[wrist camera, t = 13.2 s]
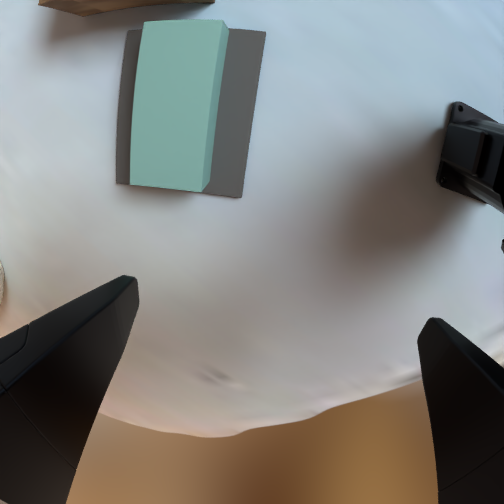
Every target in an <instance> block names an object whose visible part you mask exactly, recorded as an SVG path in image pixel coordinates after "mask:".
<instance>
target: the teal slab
mask: <svg viewBox="0 0 504 504" xmlns="http://www.w3.org/2000/svg"><path fill="white" fill-rule="evenodd" d="M228 36H229V29H228V27H227V26H226V24H225V23H224V21H223V20H201V19H191V20H162V21H149V22H144V26H143V32H142V37H141V44H140V50H139V57H138V64H137V72H136V81H135V91H134V101H133V114H132V129H131V152H130V185H140V186H150V187H160V188H169V189H177V190H186V191H194V192H202V191H203V189H204V188H205V187H206V185H207V184H208V183H209V181H210V173H211V163H212V154H213V145H214V136H215V127H216V119H217V111H218V103H219V96H220V88H221V81H222V74H223V67H224V61H225V54H226V48H227V42H228Z"/></svg>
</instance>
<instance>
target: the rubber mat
mask: <svg viewBox="0 0 504 504" xmlns="http://www.w3.org/2000/svg"><path fill="white" fill-rule="evenodd" d="M228 29H229V36H228V42H227V48H226V54H225V61H224V67H223V74H222V81H221V88H220V96H219V103H218V111H217V119H216V127H215V136H214V145H213V154H212V163H211V173H210V181H209V183H208V184H207V185H206V187H205V188H204V189H203V191H202V192H201V193H208V194H216V195H223V196H230V197H237V198H241V197H242V192H243V184H244V177H245V170H246V163H247V156H248V149H249V142H250V135H251V128H252V121H253V114H254V108H255V101H256V94H257V88H258V81H259V75H260V68H261V62H262V56H263V49H264V43H265V37H266V32H263V31H254V30H243V29H230V28H228ZM142 32H143V29H141V30H131V31H128V34H127V40H126V46H125V53H124V60H123V68H122V76H121V85H120V96H119V108H118V124H117V151H116V183H119V184H130V152H131V129H132V114H133V101H134V91H135V81H136V72H137V64H138V57H139V50H140V44H141V37H142ZM159 188H160V187H159ZM168 189H169V188H168ZM185 191H186V190H185ZM193 192H194V191H193Z"/></svg>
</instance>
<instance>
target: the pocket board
mask: <svg viewBox="0 0 504 504" xmlns="http://www.w3.org/2000/svg"><path fill="white" fill-rule="evenodd" d="M174 3H215V0H39V4H38V5H40V6H45V7H49V8H53V9H57V10H61V11H65V12H69V13H72V14H76V15H79V16H88V15H92V14H97V13H102V12H107V11H112V10H118V9H125V8H132V7H139V6H148V5H159V4H174Z"/></svg>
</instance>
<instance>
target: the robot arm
mask: <svg viewBox="0 0 504 504" xmlns="http://www.w3.org/2000/svg"><path fill="white" fill-rule="evenodd" d="M458 106H460V111H459V110H458ZM443 177H444V181H443V182H441V180H442V178H443ZM436 182H437V184H438V185H440V186H441V187H443V188H446V189H449V190H452V191H455V192H458V193H461V194H463V195H466V196H469V197H471V198H474V199H477V200H479V201H482V202H484V203H487V204H489V205H491V206H493V207H494V208H496V209H497V210H499V211H500V212H502V213H503V214H504V124H500V123H498V122H496V121H495V120H493V119H491V118H490V117H488V116H486V115H484V114H483V113H481V112H479V111H477V110H476V109H474V108H472V107H470V106H468V105H466V104H464V103H462V102H458V101H457V102H454V103H453V107H452V112H451V118H450V123H449V125H448V128H447V133H446V137H445V142H444V146H443V150H442V154H441V162H440V166H439V170H438V173H437V177H436ZM501 249H502V251H503V253H504V239H503V240H502V246H501ZM138 307H139V292H138V282H137V279H136V278H135V277H132V276H127V275H122V276H120V277H118V278H116V279H114V280H112V281H110V282H108V283H106V284H104V285H102V286H100V287H98V288H96V289H94V290H92V291H90V292H88V293H86V294H84V295H82V296H80V297H78V298H76V299H74V300H72V301H70V302H68V303H66V304H64V305H63V306H61V307H59V308H57V309H55V310H53V311H51V312H49V313H47V314H45V315H44V316H42V317H40V318H38V319H36V320H34V321H32V322H30V324H27V325H25V326H23V327H21V328H19V329H17V330H16V331H14V332H12V333H10V334H8V335H6V336H4V337H2V338H0V504H66V501H67V498H68V494H69V491H70V488H71V485H72V482H73V478H74V476H75V473H76V469H77V466H78V463H79V461H80V458H81V455H82V452H83V449H84V447H85V444H86V441H87V438H88V436H89V433H90V431H91V428H92V425H93V423H94V420H95V418H96V415H97V413H98V410H99V408H100V405H101V403H102V400H103V398H104V396H105V393H106V391H107V388H108V386H109V384H110V381H111V379H112V377H113V374H114V372H115V370H116V368H117V365H118V363H119V361H120V359H121V356H122V354H123V352H124V349H125V346H126V343H127V340H128V337H129V334H130V331H131V328H132V325H133V322H134V319H135V316H136V313H137V310H138ZM417 344H418V351H419V357H420V364H421V372H422V380H423V386H424V390H425V396H426V401H427V406H428V411H429V417H430V423H431V429H432V437H433V443H434V451H435V460H436V471H437V481H438V482H437V483H438V491H439V492H438V504H504V368H503V367H502V366H500V365H499V364H498V363H497V362H496V361H494V360H493V359H492V358H491V357H490V356H488V355H487V354H486V353H485V352H483V351H482V350H481V349H480V348H478V347H477V346H476V345H475V344H474V343H472V342H471V341H470V340H468V339H467V338H466V337H465V336H463V335H462V334H461V333H460V332H458V331H457V330H456V329H454V328H453V327H452V326H450V325H449V324H448V323H447V322H445V321H444V320H443V319H441V318H434V317H432V318H429V319H428V321H427V322H426V324H425V326H424V327H423V329H422V331H421V333H420V334H419V336H418V340H417Z"/></svg>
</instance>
